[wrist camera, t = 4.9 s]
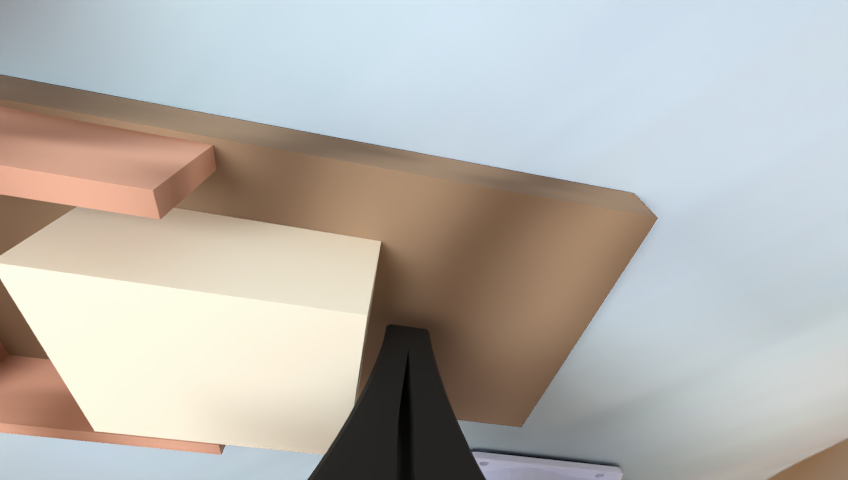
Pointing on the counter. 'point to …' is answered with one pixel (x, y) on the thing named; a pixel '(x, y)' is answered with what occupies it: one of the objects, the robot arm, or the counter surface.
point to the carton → (200, 324)
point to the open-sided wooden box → (327, 212)
